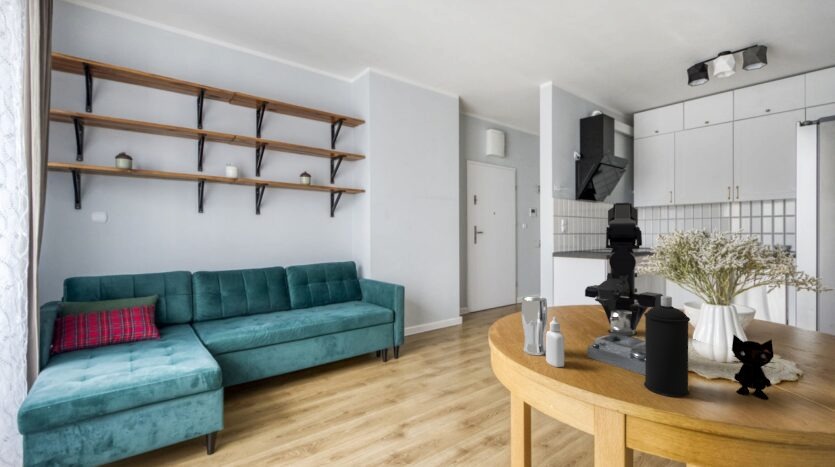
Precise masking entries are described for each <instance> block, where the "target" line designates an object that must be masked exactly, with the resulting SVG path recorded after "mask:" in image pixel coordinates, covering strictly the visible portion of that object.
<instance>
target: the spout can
mask: <svg viewBox="0 0 835 467" xmlns="http://www.w3.org/2000/svg"><path fill="white" fill-rule="evenodd" d="M610 320H611V325H610V330H611V332H612V333H614V334H618V335H630V336H633V335H635V334H634V331H635V330H632V326H631V321H632V312H631V311H627V310H611V318H610ZM611 332H610V333H611ZM612 333H611V334H612Z"/></svg>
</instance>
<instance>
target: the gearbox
mask: <svg viewBox="0 0 835 467" xmlns="http://www.w3.org/2000/svg"><path fill="white" fill-rule="evenodd" d="M587 358H589V359H592V360H595V361H598V362H601V363H605V364H607V365H611V366H614V367H618V368H620V369H624V370H627V371H631V372H634V373H637V374H641V375H643V376H645V339H643V338H639V337H634V336H632V335H630V336H626V335H618V334H614V333H609V334H606V335H603V336H598V337H595V338H594V339H593V343H592V344H591V345H587Z"/></svg>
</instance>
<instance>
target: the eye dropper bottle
mask: <svg viewBox="0 0 835 467" xmlns="http://www.w3.org/2000/svg"><path fill="white" fill-rule="evenodd" d="M545 349H546V353H545V360H546V362H547V364H549V366H550V365H551V367H552V366H553V367H555V368H561V367H562V368H563V367H565V336H564V335H563V333H562V332H561V323H560V322H559V321H558V319H557V317H556V316H553V317H552V321H550V322H549V330H547V331H545Z"/></svg>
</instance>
